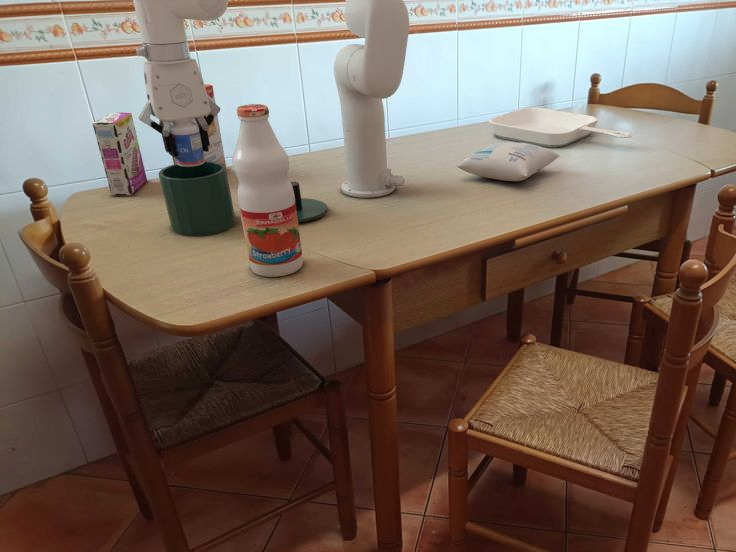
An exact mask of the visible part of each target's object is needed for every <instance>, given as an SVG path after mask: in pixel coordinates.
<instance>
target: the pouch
mask: <svg viewBox="0 0 736 552" xmlns="http://www.w3.org/2000/svg"><path fill="white" fill-rule="evenodd" d="M559 157H561V155H560V154H559V153H557V152H555V151H553V150H551V149H550V148H548V147H543V146H538V145H533V144H527V143H522V142H517V141H497V142H494V143H492V144H489V145H487V146H486V147H483V148H481V149H479V150H477V151H476V152H474V153H472V154H470V155H469V156H467V157H466V158H464V159H463V160H462V161H460V162H459V163H458V164H457V165H456V166H455V167H456V168H458V169H460V170H462V171H464V172H466V173H468V174H472V175H475V176H478V177H482V178H487V179H492V180H498V181H505V182H520V181H521V182H522V181H524V180H527V179H528V178H530V177H531V176H533V175H534V174H536V173H538V172H539V171H541V170H542V169H544V168H546V167H547V166H548V165H549V166H550V165H551V164H552V163H553V162H554V161H556V160H557V159H558V158H559Z"/></svg>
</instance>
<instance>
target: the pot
mask: <svg viewBox="0 0 736 552" xmlns="http://www.w3.org/2000/svg"><path fill="white" fill-rule="evenodd" d="M226 168H227V166H226V167H225V166H224V165H223V164H221V163H217V162H211V161H205V162H204V163H203V164H202V165H198V166H193V167H182V166H179V165H177V164H174V163H173V164H170V165H168V166H167V165H166V166H165V167H163V168H162V169H160V170H159V171H158V178H159V183H160V186H161V190H162V194H163V198H164V201H165V202H164V203H165V206H166V211H167V214H168V219H169V222H170V227H171V229H172V231H173V232H174V233H176V234H178V235H182V236H185V237H186V236H188V237H202V236H210V235H215V234H220V233H222V232H225V231H227V230H229V229H231V228H232V227H234V226H235V223H236V214H235V210H234V204H233V200H232V193H231V188H230V184H229V179H228V178H229V177H228V172H227V169H226Z"/></svg>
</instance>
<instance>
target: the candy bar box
mask: <svg viewBox="0 0 736 552" xmlns="http://www.w3.org/2000/svg"><path fill="white" fill-rule="evenodd" d="M92 127H93V132H94V134H95V135H94V136H95V138H96V142H97V146H98V150H99V155H100V157H101V161H102V163H103V169H104V172H105V176H106V180H107V183H108V187H109V191H110V195H111V197H131V196H133V195H135V193H136V192H138V191H139V190H140V189H141V188H142V187H143V186H144V185H145V184H147V182H148V178H147V174H146V169H145V165H144V162H143V157H142V152H141V149H140V144H139V139H138V135H137V130H136V127H135V122H134V119H133V114H132V112H110V113H108V114H107V115H105V116H103V117H101V118H99V119H98V120H96V121H94V122H92Z"/></svg>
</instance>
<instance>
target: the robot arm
mask: <svg viewBox="0 0 736 552" xmlns="http://www.w3.org/2000/svg"><path fill="white" fill-rule="evenodd" d="M132 3H133V6H134V7H133V8H134V11H135V15H136V20H137V24H138V28H139V33H140V37H141V41H142V42H141V46H140V47H136V48H135V52H136V56H137V57H142V58H144V59H145V60H146V61H144V62H143V77H144V86H145V93H146V94H145V95H146V99H147V101H146V103H145V105H144V106H143V109H142V110H141V112H140V114H139V115H138V120H139V121H140V122H142V123H144V124H145V125H146V126H148V127H150V128H152V129H153V130H155V131H156V132H158V133H159V134H161V137H162V142H163V146H164V150H165V153H168V154H169V155H170V156H171V157H172V156H173V157H177V151H176V147H175V142H174V138H173V136H172V135H171V134H170V125H171V121H175V120H182V119H189V118H194V119H195V121H196V123H197V125H198V127H199V131H200V136H201V141H202V146H203V151H205V152H208V151H209V149H208V146H210V142H209V137H208V132H207V130H208V129H209V126H210V124H211V123H212V121H213V120H214V117H216V115H218V114H219V113H220V111H221V107H220V106H219V105H218V104H215V103H216V102H215V103H214V102H213V101H212V100H211V99H210V98H208V96H207V92H206V89H205V85H204V84H205V83H204V79H203V75H202V72H201V70H200V67H199V64H198V62H197V59H195V58H192V57H191V53H190V47H189V43H188V42H189V41H188V38H187V33H186V32H187V31H186V27H185V23H184V20H190V21H191V20H192V21H203V22H211V21H216V20H218V19H219V18H221V17H223V15H224V14H225V13H226V11H227V9H228V5H229V0H132ZM409 15H410V14H409V10H408V8H407V5H406V2H405V1H404V0H345V4H344V22H345V25H346V27H347V29H348V31H350V32H351V33H352V34H353V35H355V36H357V37H360V38H363V39H364V44H360V43H352V44H347V45H345V46H343V47H342V48H341V49H340V50H339V51H338V52H337V54H336V56H335V58H334V62H333V75H334V80H335V86H336V89H337V93H338V98H339V103H340V105H339V106H340V113H341V124H342V125H341V126H342V134H343V145H344V147H343V148H344V157H345V170H346V181H344V182H343V183H342V184H341V186H340V188H341V192H342V194H344V195H346V196H349V197H354V198H362V199H363V198H364V199H366V198H379V197H383V196H386V195H389V194H391V193H393V192H394V191H395V189H396V187H405V185H406V184H405V183H406V179H405V178H404V176H403V175H399V174H398V175H395V174H393V173H392V168H389V167H388V159H387V156H388V155H387V140H386V125H385V123H386V118H385V108H384V103H383V100H384V99H388V98H390V97H392V96H393V95H394V94H395V93H396V92H397V91H398V89H399V88H400V86H401V83H402V79H403V75H404V69H405V62H406V55H407V48H408V41H409V32H410V16H409ZM151 116H153V117H154V118H157V119H158V122H156V121H154V120H153V119H151ZM203 116H204V117H203Z"/></svg>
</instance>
